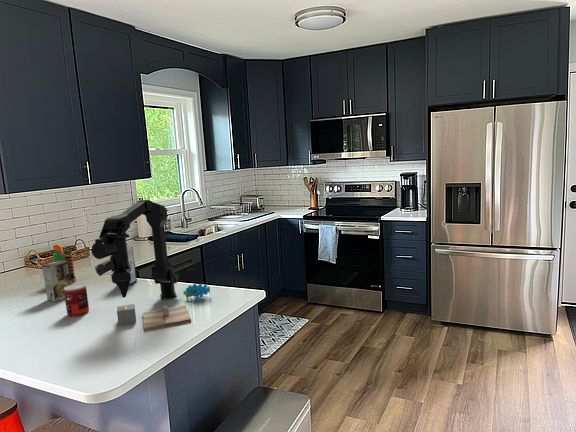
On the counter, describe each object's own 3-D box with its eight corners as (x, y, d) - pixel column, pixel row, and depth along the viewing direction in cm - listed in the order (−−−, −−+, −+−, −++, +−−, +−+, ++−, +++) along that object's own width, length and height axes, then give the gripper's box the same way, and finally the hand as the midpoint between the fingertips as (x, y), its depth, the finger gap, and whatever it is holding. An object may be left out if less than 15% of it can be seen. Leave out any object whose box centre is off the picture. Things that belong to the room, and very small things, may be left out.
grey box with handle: (119, 320, 160) (117, 306, 159) (136, 317, 162) (134, 303, 161) (118, 325, 154) (116, 311, 153) (136, 322, 156) (134, 308, 155)
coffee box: (66, 293, 198) (61, 259, 195) (74, 295, 194) (69, 260, 192) (46, 300, 190) (41, 265, 188) (54, 302, 187) (49, 266, 184)
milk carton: (116, 286, 205) (111, 245, 202) (124, 282, 211) (119, 242, 208) (129, 286, 203) (124, 245, 200) (137, 282, 210) (132, 242, 207)
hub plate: (142, 315, 163) (141, 303, 162) (185, 308, 168) (184, 296, 167) (144, 331, 148) (142, 318, 147) (191, 322, 153) (189, 309, 152)
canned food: (68, 311, 173) (64, 285, 171) (90, 308, 175) (86, 282, 174) (66, 318, 165) (62, 290, 164) (88, 314, 168) (84, 287, 167)
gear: (213, 291, 182) (205, 280, 174) (213, 303, 178) (205, 293, 170) (188, 295, 183) (179, 285, 175) (187, 308, 179) (179, 298, 171)
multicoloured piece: (75, 283, 214) (69, 244, 211) (55, 286, 211) (49, 247, 208) (77, 278, 223) (71, 241, 220) (57, 281, 220) (52, 243, 217)
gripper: (96, 250, 160) (102, 290, 162) (92, 260, 143) (98, 305, 145) (128, 246, 164) (132, 285, 166) (128, 256, 147) (133, 299, 149)
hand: (124, 293), depth 156 cm, fingers open, 9 cm apart
